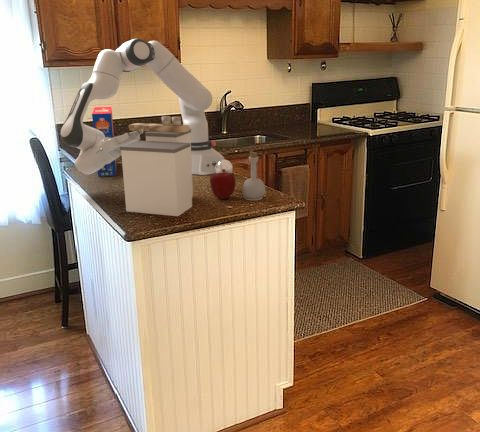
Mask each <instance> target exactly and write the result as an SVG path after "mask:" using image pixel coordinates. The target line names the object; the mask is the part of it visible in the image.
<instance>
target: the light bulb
mask: <svg viewBox="0 0 480 432" xmlns="http://www.w3.org/2000/svg"><path fill="white" fill-rule="evenodd" d="M233 169H234V168H233V164H232V163H231V161H229V160H228V159H225V160H220V161H219V162H218V163H217V164H216V167H215V170H216V173H223V172H226V173H231V174H233ZM216 173H215V174H216Z"/></svg>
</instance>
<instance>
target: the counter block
mask: <svg viewBox="0 0 480 432" xmlns="http://www.w3.org/2000/svg"><path fill="white" fill-rule="evenodd" d="M190 132H191V129H190V131H187V132H160V131H144V137H145V140H139V141H136V142H133V143H130V144H126V145H123V146H120V150H121V164H122V174H123V175H122V176H123V186H124V187H123V188H124V200H125V201H124V202H125V212H131V213H141V214H150V215H160V216H161V215H162V216H170V217H172V216H173V217H179V216H180V215H182V214H184V213H185V212H186V211H188V210H189V209H191V208H192V207H193V198H194V187H193V186H194V185H193V174H192V160H191V136H190Z"/></svg>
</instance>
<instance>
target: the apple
mask: <svg viewBox="0 0 480 432" xmlns="http://www.w3.org/2000/svg"><path fill="white" fill-rule="evenodd" d="M209 186H210V189H211V192H212V193H213V195H214V196H215V197H216V199H219V200H227V199H229V198H230V197H231V196H232V195H233V194H234V191H235V188H236V178H235V175H234V174H233V173H226V172H223V173H213V174H211V177H210V181H209Z"/></svg>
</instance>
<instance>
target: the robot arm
mask: <svg viewBox="0 0 480 432" xmlns="http://www.w3.org/2000/svg"><path fill="white" fill-rule="evenodd" d="M142 66H147V68H149V69H150V70H151V71H152V72H153V73H154V74H155V76H157V77H158V79H159V80H160V81H161V82H162V83H163V84H164V85H165V86H166V87H167V89H170V90H171V91H172V92H173V93H174V94H175V95H176V96H177V99H178V103H179V108H180V109H179V110H180V114H181V119H182V120H181V121H182V125H189V128H190V129H191V132H190V136H191V160H192V175H199V176H207V175H213V174H216V170H215V167H216V164H217V163H218V162H219V161H220V160H226V159H225V156H223V155H222V154H221V153H220V152H218V151H217V150H216V149H214V148H213V147H216V145H217V143H216V141H212V140H209V124H208V120H207V118H206V113H205V111H206V110H208V109H209V108H210V107H211V106H212V103H213V95H212V92H211V91H210V90H209V89H207V87H206V86H204V84H203V83H202V82H201V81H199V80H198V78H197V77H195V76H194V75H193V74H192V73H191V72H189V71H188V70H187V68H186V67H184V66H183V64H182V63H181V62H180V61H179V59H177V57H176V56H174V54H173V53H172V52H171V51H170V50H169V49H167V47H166V46H164V45H163V44H162V43H161V42H160V41H158V40H154V39H153V40H150V41H147V40H145V39H143V38H132V39H130V40H128V41H125V42H124V43H122V44H121V45H120V46H119V47H117V48H116V49H115V50H113V49H103V50H101V51H100V52H99V54H98V55H97V57H96V60H95V62H94V66H93V69H92V73H91V76H90V78H89V79H88V81H87V82H86V81H85V82H83V84H82V85H81V86H80V88H79V90H78V92H77V93H76V96H75V98H74V101H73V102H72V103H73V104H72V106H71V107H70V111H69V113H68V116H67V117H66V119H65V120H64V122H63V124H62V126H61V128H60V131H59V135H60V139H61V141H62V143H63V144H64V146H67V147H71V148H76V149H78V150H80V152H79V154H78V157H77V158H76V159H75V160H74V167H75V168H76V169H77V170H78V172H80V173H82V174H84V175H91V174H94V173H96V172H98V170H100V169H101V168H103V167H104V166H105V165H106V164H109V163H111V162H112V161H114V160H115V159H116V160H117V159H118V158H120V157H121V156H122V154H121V150H120V146H123V145H126V144H130V143H133V142H136V141H141V136H140V135H142V134H143V133H144V131H136V130H134V131H131V132H125V133H123V134H120V135H118V136H114V138H109V137H105V135H104V133H103V132H101V131H99V130H97V129H95V128H93V126H89V125H87V124H85V123H84V122H83V121H84V117H85V115H86V112H87V110H88V107H89V106H90V103H92V102H93V101H95V100H107V99H110V98H112V97H114V96H115V95H116V94H117V93H118V89H119V87H120V81H121V79H122V78H121V77H122V74H123V73H131V72H132V71H136V70H138V69H140V68H141V67H142Z"/></svg>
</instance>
